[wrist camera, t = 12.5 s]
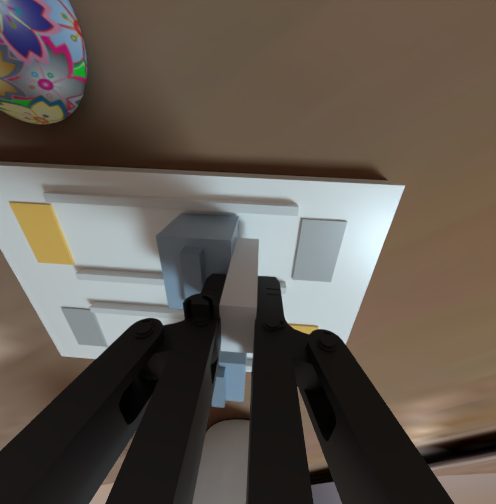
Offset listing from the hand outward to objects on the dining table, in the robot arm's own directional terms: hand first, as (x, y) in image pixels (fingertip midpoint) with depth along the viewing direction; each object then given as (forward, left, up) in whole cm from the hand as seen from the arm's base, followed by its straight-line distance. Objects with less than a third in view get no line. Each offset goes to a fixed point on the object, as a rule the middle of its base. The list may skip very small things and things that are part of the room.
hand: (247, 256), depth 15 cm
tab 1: (-3, 0, -2) cm, 3 cm away
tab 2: (-2, -10, -2) cm, 10 cm away
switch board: (-5, -5, -4) cm, 8 cm away
